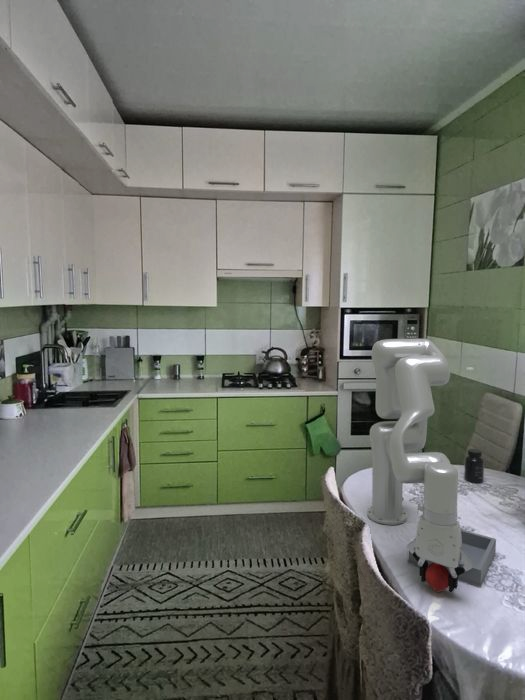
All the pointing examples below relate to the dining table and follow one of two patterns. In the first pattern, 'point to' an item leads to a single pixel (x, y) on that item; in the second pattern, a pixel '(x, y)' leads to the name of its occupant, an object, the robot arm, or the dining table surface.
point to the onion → (437, 576)
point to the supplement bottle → (474, 466)
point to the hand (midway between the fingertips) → (438, 583)
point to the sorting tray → (472, 557)
